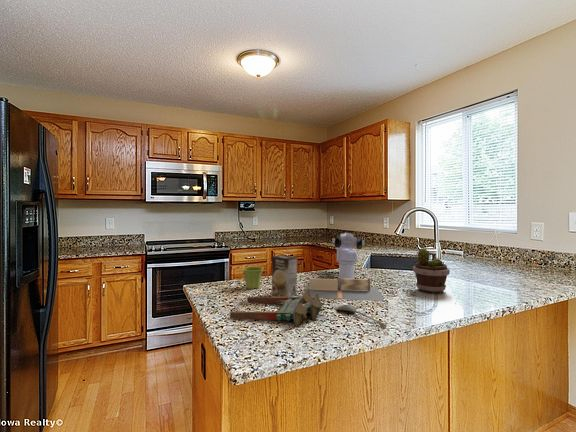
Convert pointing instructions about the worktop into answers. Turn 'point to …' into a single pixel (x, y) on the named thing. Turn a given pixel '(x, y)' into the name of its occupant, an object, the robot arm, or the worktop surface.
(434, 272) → the flowerpot
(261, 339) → the worktop surface
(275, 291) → the coffee box
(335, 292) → the board
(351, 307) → the soupspoon
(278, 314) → the miniature gate
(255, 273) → the plant pot
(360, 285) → the tan wooden plank
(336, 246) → the robot arm
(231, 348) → the worktop surface
